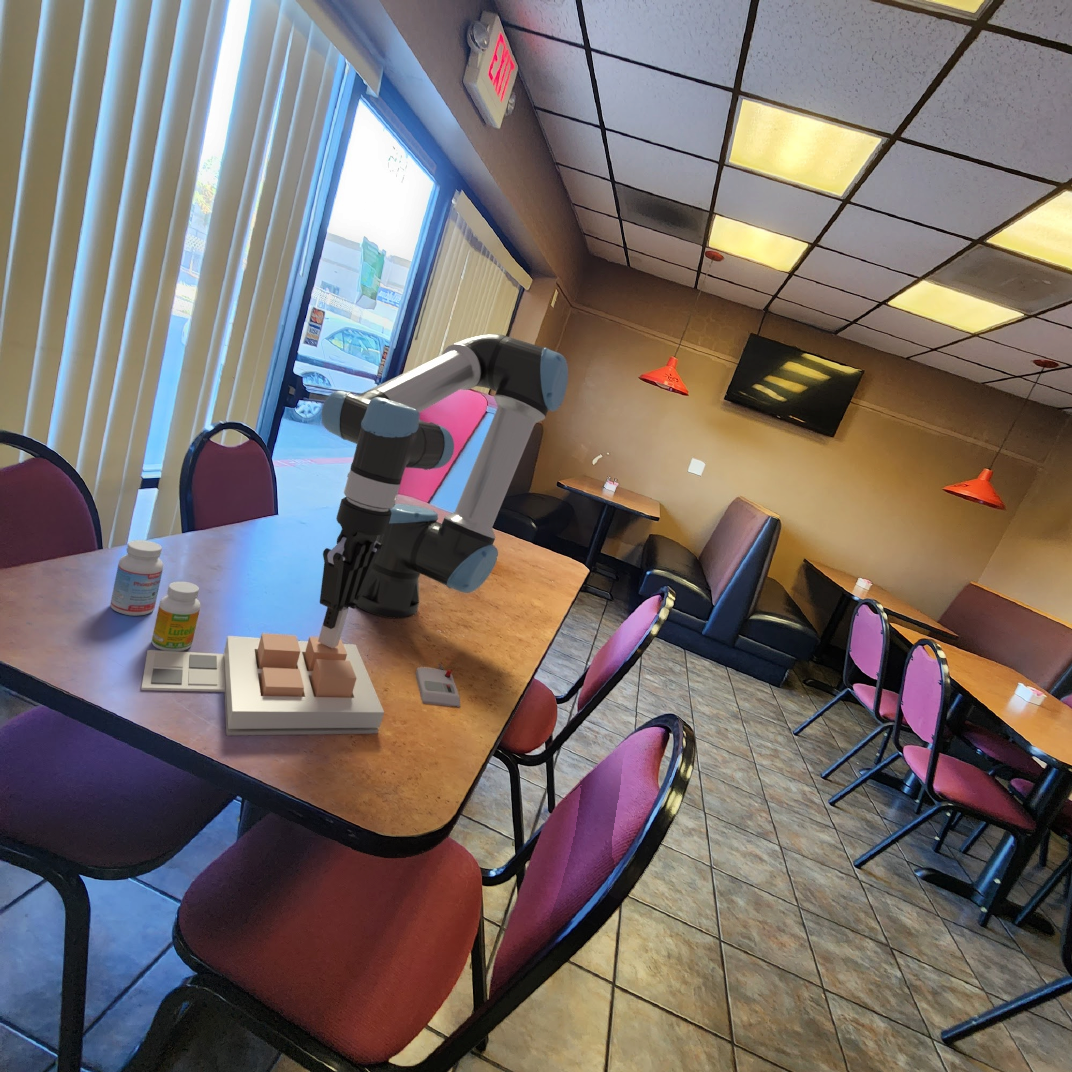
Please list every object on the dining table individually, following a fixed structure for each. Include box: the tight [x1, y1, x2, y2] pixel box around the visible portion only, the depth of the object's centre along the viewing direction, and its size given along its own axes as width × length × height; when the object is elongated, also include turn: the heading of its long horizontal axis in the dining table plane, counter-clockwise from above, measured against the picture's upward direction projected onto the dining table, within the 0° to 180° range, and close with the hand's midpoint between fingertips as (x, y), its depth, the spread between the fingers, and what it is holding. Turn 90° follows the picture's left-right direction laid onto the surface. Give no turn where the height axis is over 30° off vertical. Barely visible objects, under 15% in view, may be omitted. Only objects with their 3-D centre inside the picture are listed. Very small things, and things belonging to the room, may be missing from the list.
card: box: [140, 649, 225, 693], centre depth 85 cm, size 10×10×1 cm
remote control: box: [414, 663, 461, 708], centre depth 104 cm, size 7×16×3 cm, turn 18°
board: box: [222, 635, 385, 736], centre depth 88 cm, size 20×20×4 cm
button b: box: [257, 632, 300, 669], centre depth 89 cm, size 5×5×3 cm
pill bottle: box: [110, 539, 164, 617], centre depth 95 cm, size 6×6×11 cm
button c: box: [311, 659, 357, 698], centre depth 87 cm, size 5×5×3 cm
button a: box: [259, 667, 304, 697], centre depth 83 cm, size 5×5×3 cm
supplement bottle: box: [151, 581, 201, 652], centre depth 89 cm, size 5×5×10 cm
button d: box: [304, 636, 347, 671], centre depth 92 cm, size 5×5×3 cm
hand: (328, 643), depth 92 cm, fingers closed
